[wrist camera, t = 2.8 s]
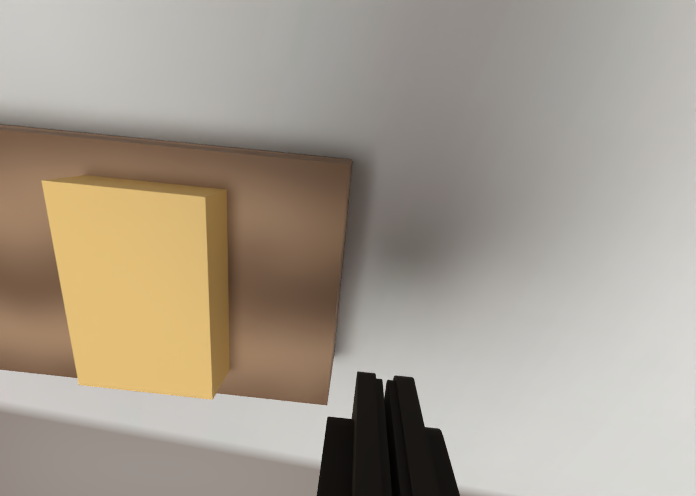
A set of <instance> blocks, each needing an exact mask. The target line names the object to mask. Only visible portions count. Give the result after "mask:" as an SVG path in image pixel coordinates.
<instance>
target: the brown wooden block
mask: <svg viewBox="0 0 696 496" xmlns="http://www.w3.org/2000/svg"><path fill="white" fill-rule="evenodd" d="M351 170H352V159H342V158H332V157H322V156H312V155H302V154H292V153H282V152H272V151H262V150H252V149H242V148H232V147H222V146H212V145H202V144H192V143H182V142H172V141H162V140H152V139H142V138H132V137H122V136H112V135H102V134H92V133H82V132H72V131H62V130H52V129H42V128H32V127H22V126H12V125H2V124H0V370H9V371H18V372H28V373H37V374H46V375H55V376H64V377H73V378H78V377H77V372H76V367H75V361H74V356H73V350H72V345H71V339H70V334H69V328H68V323H67V317H66V312H65V306H64V301H63V296H62V290H61V285H60V279H59V274H58V268H57V263H56V257H55V252H54V246H53V241H52V236H51V230H50V225H49V219H48V214H47V208H46V203H45V197H44V192H43V186H42V181H41V180H49V179H57V178H65V177H74V176H82V175H89V176H99V177H108V178H118V179H128V180H138V181H148V182H158V183H168V184H177V185H187V186H197V187H207V188H217V189H227V237H228V298H229V359H230V370H229V372H228V374H227V376H226V377H225V379H224V381H223V382H222V384H221V386H220V388H219V389H218V391H217V393H220V394H229V395H238V396H247V397H256V398H265V399H275V400H284V401H293V402H302V403H311V404H320V405H327V402H328V395H329V388H330V380H331V373H332V366H333V358H334V348H335V338H336V327H337V317H338V307H339V296H340V286H341V275H342V265H343V254H344V244H345V233H346V223H347V212H348V202H349V191H350V181H351Z"/></svg>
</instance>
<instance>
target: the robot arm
mask: <svg viewBox="0 0 696 496" xmlns="http://www.w3.org/2000/svg"><path fill="white" fill-rule="evenodd" d="M317 496H460V494H459V491H458V487H457V484H456V480H455V477H454V473H453V470H452V466H451V462H450V459H449V455H448V452H447V448H446V445H445V441H444V438H443V435H442V432H441V430H440V429H437V428H428V427H425V426H424V422H423V417H422V413H421V408H420V404H419V399H418V395H417V391H416V386H415V382H414V378H413V377H404V376H394V379H393V380H387V384H386V390H385V397H384V393H383V382H382V379H376V374H375V373H366V372H357V378H356V387H355V396H354V404H353V413H352V419H345V418H336V417H328V418H327V424H326V432H325V439H324V446H323V454H322V461H321V469H320V476H319V483H318V491H317Z"/></svg>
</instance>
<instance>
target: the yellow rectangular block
mask: <svg viewBox="0 0 696 496" xmlns="http://www.w3.org/2000/svg"><path fill="white" fill-rule="evenodd" d="M41 181H42V186H43V192H44V197H45V203H46V208H47V214H48V219H49V225H50V230H51V236H52V241H53V246H54V252H55V257H56V263H57V268H58V274H59V279H60V285H61V290H62V296H63V301H64V306H65V312H66V317H67V323H68V328H69V334H70V339H71V345H72V350H73V356H74V361H75V367H76V372H77V377H78V383H79V385H85V386H94V387H103V388H112V389H121V390H130V391H139V392H149V393H158V394H167V395H176V396H185V397H194V398H203V399H212V400H213V398H214V396H215V394H216V393H217V391H218V389H219V388H220V386H221V384H222V382H223V381H224V379H225V377H226V376H227V374H228V372H229V370H230V359H229V298H228V237H227V189H217V188H207V187H197V186H187V185H177V184H168V183H158V182H148V181H138V180H128V179H118V178H108V177H99V176H89V175H82V176H74V177H65V178H57V179H49V180H41Z"/></svg>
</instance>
